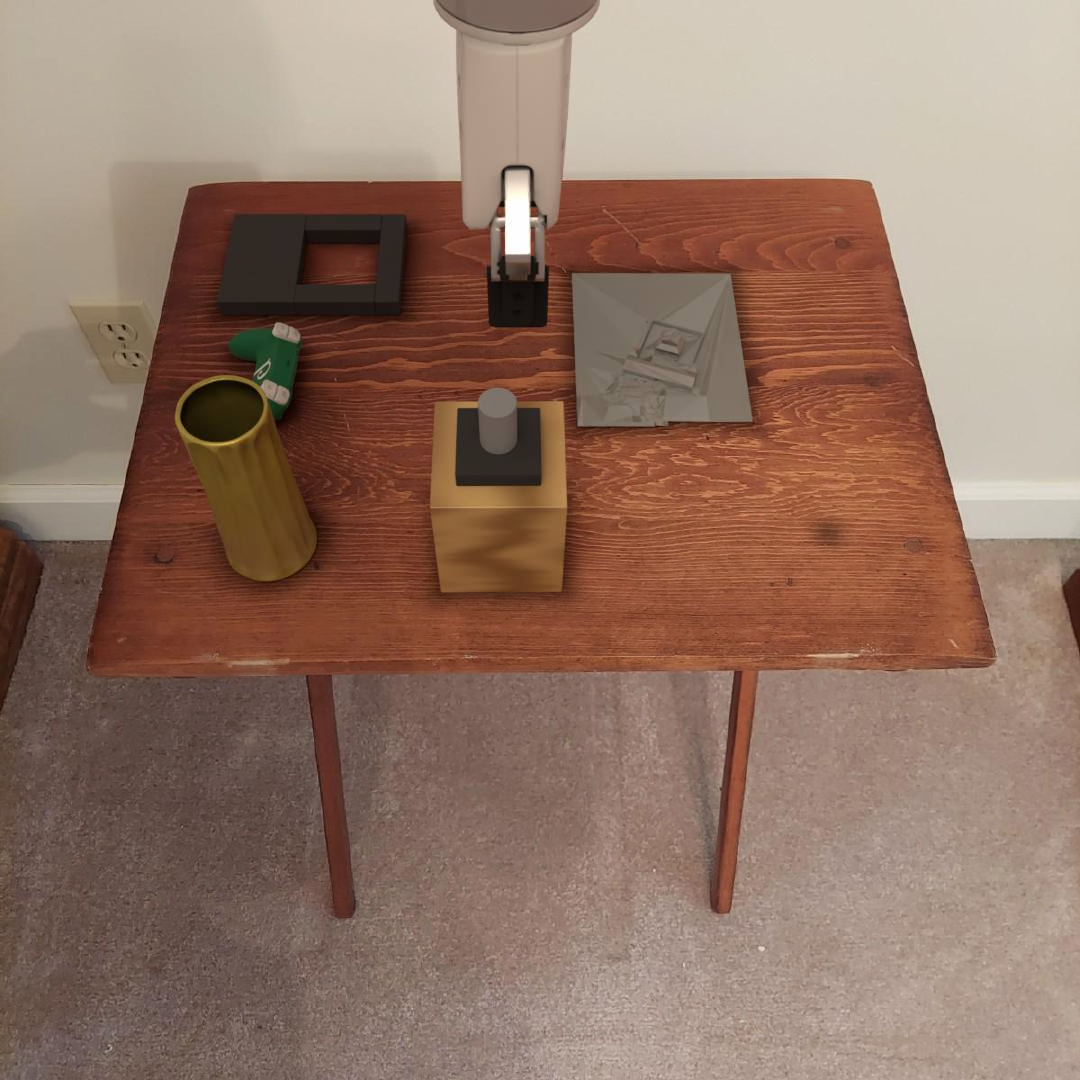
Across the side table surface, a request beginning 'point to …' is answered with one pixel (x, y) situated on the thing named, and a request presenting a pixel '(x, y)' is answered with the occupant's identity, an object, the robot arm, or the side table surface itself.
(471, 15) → the robot arm
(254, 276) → the base pad
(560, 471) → the stand
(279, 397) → the gaming controller
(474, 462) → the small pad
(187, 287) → the side table surface
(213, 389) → the vase
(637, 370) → the grey flat square slab
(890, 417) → the side table surface
